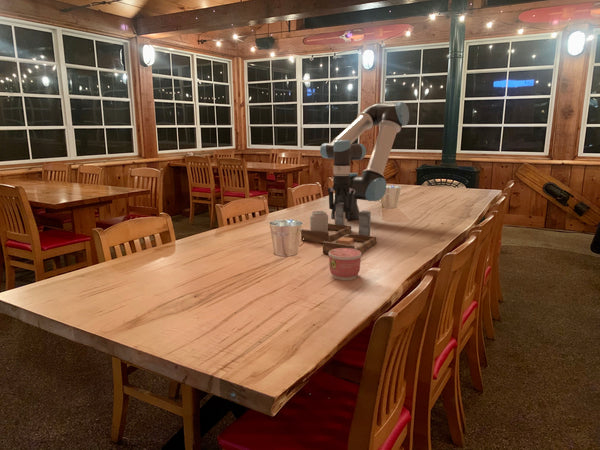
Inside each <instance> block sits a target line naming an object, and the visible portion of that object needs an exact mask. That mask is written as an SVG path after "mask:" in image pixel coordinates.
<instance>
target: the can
mask: <svg viewBox="0 0 600 450" xmlns="http://www.w3.org/2000/svg"><path fill="white" fill-rule="evenodd" d="M327 213H328V212H327V211H324V210H315V211H312V212H311V214H310V218H309V220H310V221H309V223H310V225H309V226H310V227H309V228H310V229H309V230H313V231H320V232H328V233H329V229H328V223H329V215H328V214H327Z"/></svg>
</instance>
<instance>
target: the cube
mask: <svg viewBox="0 0 600 450" xmlns="http://www.w3.org/2000/svg"><path fill="white" fill-rule="evenodd" d="M337 239H338V243H340V244H347V245H354V240H353V239H354V238H346V237H343V236H341V237H339V238H337Z"/></svg>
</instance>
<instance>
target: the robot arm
mask: <svg viewBox="0 0 600 450" xmlns="http://www.w3.org/2000/svg"><path fill="white" fill-rule="evenodd" d="M409 111H410V110H409V107H408V105H407V103H405V102H401V101H394V102H376V103H374V104H372V105H368V106H367V107H366V108H365V109H363V110H362V111H361V112H359V113H358V114H357V116H356V119H354V120H353V121H352V122H351V123H350V124H349V125H348V126H347V127H346V128H345V129H344V130H343V131H342V132H340V133H339V135H337V136H335V138H334V139H333V140H332V141H330V142H324V143H322V144H321V145H320V148H319V153H320V156H321V157H322V158H323V159H328V160H333V172H332V173H333V185H332V187H331V186H330V187H328V188H327V189H326V190H327V193H328V208H329V210H331V213H330V217H331V219H334V222H335V221H336V204H337V203H344V208H345V211H344V212H343V225H345V226H348V221H355V220H356V221H357V220H359V212H360V209H359V206H358V200H360V201H361V200H362V201H366V202H378V201H380V200H382V198H383V197H384V196H385V194H386V191H387V180H386V178H385V174H384V171H385V169H386V167H387V163H388V159H389V157H390V154H391V151H392V147H393V144H394V141H395V139H396V135H397V134H398V133H401V130H402V128H403V127H405V126H407V125H408V123H409V121H410V112H409ZM375 126H378V127H379V131H378V135H377V137H376V140H375V144H374V145H373V149H372V152H371V154H370V155H371V156H370V158H369V161H368V164H367V167H366V169H363V170H362V171H361V175H359V174H358V173H357V172H351V161H360V160H363V159H364V158H365V157H366V156H367V155H366V154H367V148H366V146H365V145H364V144H362V143H359V142H358V143H354V142H355V141H356V140H357V139H358V138H359V137H360V136H361V135H362V134H363V133H364V132H365V131H367V130H370V129H372V128H373V127H375Z"/></svg>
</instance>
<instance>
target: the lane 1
mask: <svg viewBox="0 0 600 450" xmlns="http://www.w3.org/2000/svg"><path fill="white" fill-rule="evenodd" d="M344 211H345V208H344V203H337V204H336V221H335V220H334V223H329V222H328V230H332V231H335V232H333V233H332V234H329V231H328V232H320V231H313V230H310V229H304V228H301V230H300V240H301V241H308V242H312V243H313V242H314V243H322V244H323V242H324V241H326V242H334V241H335V240H337V239H339V238H341V237H343V236H345V235H347V234H350V232H352V226H351V225H346V226H345V225H343V212H344ZM303 238H304V240H303Z"/></svg>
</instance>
